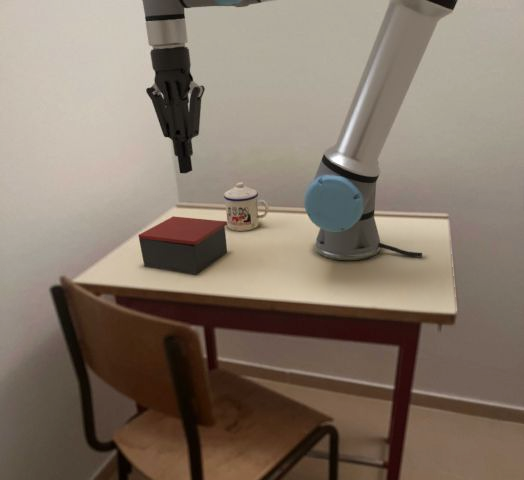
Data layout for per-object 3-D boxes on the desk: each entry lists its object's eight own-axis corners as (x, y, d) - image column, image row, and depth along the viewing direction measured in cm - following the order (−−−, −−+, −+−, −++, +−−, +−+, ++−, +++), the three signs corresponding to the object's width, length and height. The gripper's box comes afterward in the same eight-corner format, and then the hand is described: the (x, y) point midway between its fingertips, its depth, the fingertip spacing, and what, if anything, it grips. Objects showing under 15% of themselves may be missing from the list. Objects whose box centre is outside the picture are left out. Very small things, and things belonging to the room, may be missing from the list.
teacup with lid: (222, 230, 140) (218, 187, 134) (232, 219, 147) (229, 178, 141) (264, 232, 137) (262, 188, 131) (273, 221, 144) (271, 179, 138)
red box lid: (227, 224, 122) (227, 221, 122) (195, 245, 112) (195, 241, 111) (173, 219, 128) (173, 216, 128) (138, 238, 118) (138, 234, 118)
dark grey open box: (227, 253, 126) (224, 225, 123) (196, 275, 116) (192, 246, 112) (177, 245, 132) (173, 219, 129) (144, 266, 122) (138, 238, 118)
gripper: (207, 43, 100) (220, 169, 113) (153, 47, 105) (171, 166, 118) (186, 46, 95) (202, 177, 107) (130, 49, 100) (151, 174, 112)
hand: (186, 171), depth 113 cm, fingers closed
